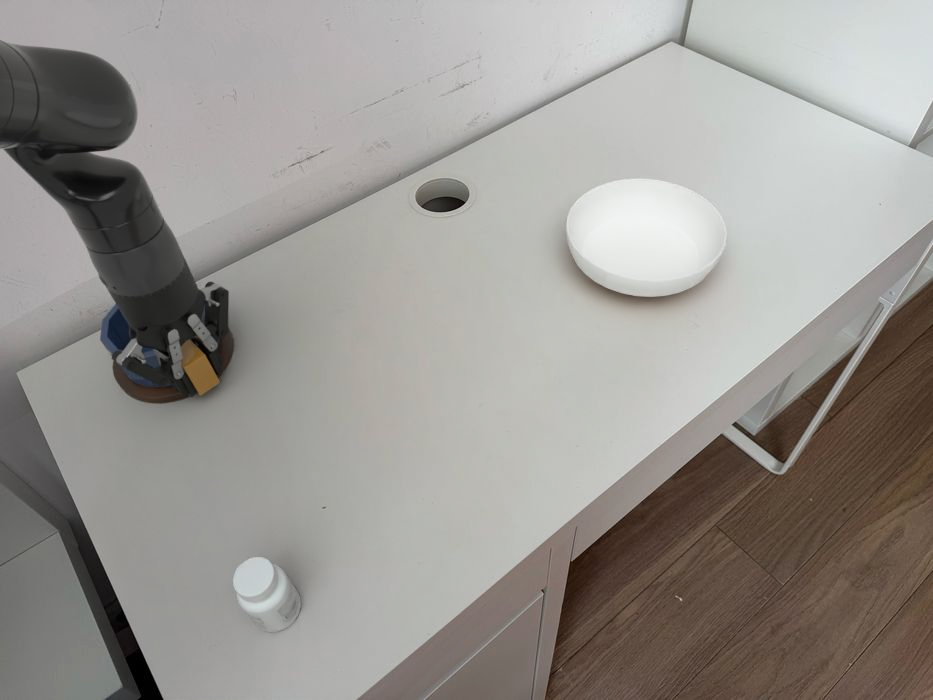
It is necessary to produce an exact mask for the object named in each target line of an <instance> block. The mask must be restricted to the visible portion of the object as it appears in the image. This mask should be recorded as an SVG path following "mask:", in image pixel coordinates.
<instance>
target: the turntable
mask: <svg viewBox="0 0 933 700" xmlns="http://www.w3.org/2000/svg"><path fill="white" fill-rule="evenodd" d="M216 322H217V320H216ZM234 349H235V340H234V336H233V334H232V331H231V329H230V327H229V326H228V334H227V335H226V336H225V337H224V338H221V337H220V344H219V348H218V352H219V354H220V356H221V358H222V360H223V366H221V368H222V370H223V371H222V372H221V373H220V374H219V375H217V377H218V378H220V377H221V376H222V375H223V373H224V372H225V370H226V369H227V368H228V366H229V365H230V362H231V360H232V358H233V354H234ZM112 374H113V376H114V379H115V381H116V382H117V384H118V386H119V387H120V388H121V390H122V391H123V392H124V393H125V394H126V395H127V396H129V397H130V398H132V399H135V400H136V401H139V402H143V403H147V404H168V403H174V402H178V401H181V400H184V399H187V398H191V397H190V396H189V395H187V396H186V397H185V396H183V395H182V394H180V393H179V392H177V391H176V390H174V388H173V386H172V385H170V386H165V387H147V386H142V385H139V384H137V383H135V382H132V381H131V380H130V379H129V378H128V377H127V376H126V375H125V373H124V372H123V371H122V370H121V369H120V367H119V366H118V365H117V363H116V362H115V361H114V360H112Z"/></svg>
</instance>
